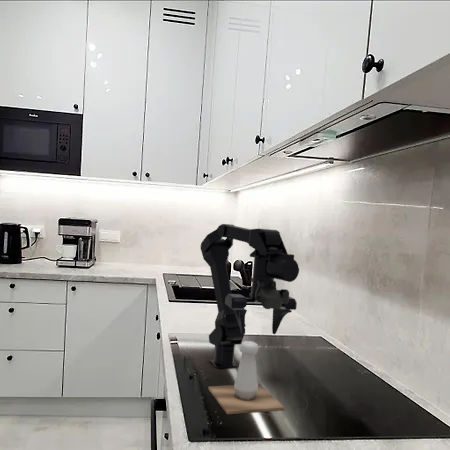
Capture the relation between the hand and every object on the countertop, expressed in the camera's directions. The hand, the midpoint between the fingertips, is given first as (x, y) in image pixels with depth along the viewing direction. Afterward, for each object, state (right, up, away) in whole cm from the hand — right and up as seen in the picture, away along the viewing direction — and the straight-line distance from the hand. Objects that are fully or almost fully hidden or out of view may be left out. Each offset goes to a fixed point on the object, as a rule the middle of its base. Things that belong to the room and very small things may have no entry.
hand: (258, 333), depth 112 cm
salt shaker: (-4, -12, -12) cm, 17 cm away
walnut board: (-4, -13, -12) cm, 18 cm away
